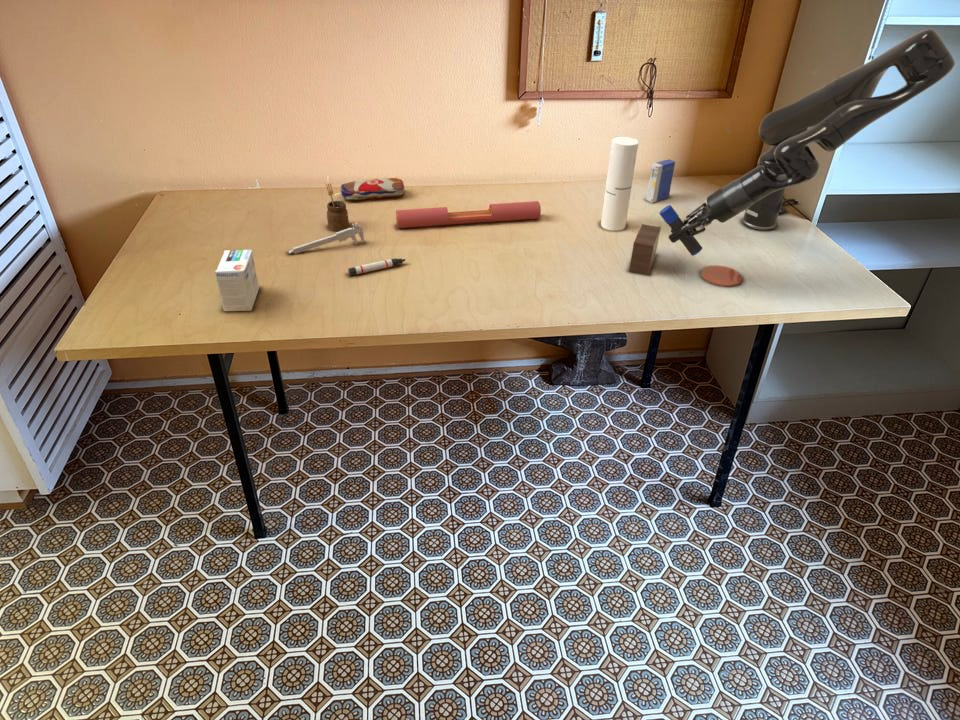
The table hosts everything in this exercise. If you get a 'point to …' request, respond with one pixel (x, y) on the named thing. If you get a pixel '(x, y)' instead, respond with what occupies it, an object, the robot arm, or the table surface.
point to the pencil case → (372, 188)
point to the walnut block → (644, 249)
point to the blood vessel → (467, 215)
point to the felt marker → (676, 224)
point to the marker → (374, 266)
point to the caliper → (332, 239)
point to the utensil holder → (336, 213)
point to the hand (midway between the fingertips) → (671, 236)
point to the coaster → (721, 276)
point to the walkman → (660, 180)
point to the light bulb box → (237, 280)
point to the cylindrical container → (619, 182)
